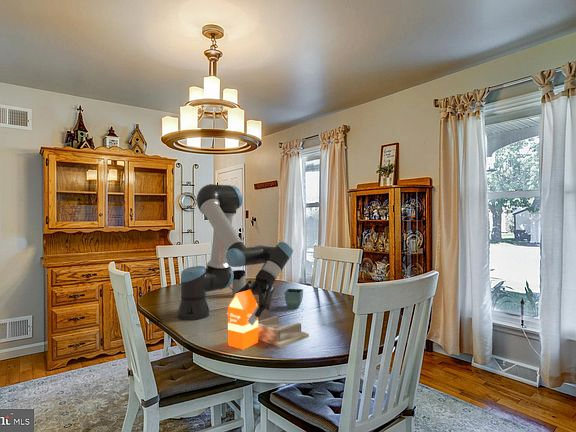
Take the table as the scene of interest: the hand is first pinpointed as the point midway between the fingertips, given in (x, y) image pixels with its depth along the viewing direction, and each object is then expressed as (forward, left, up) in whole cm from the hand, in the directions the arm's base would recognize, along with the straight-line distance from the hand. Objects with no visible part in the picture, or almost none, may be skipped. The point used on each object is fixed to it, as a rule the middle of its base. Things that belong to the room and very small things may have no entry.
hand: (238, 319), depth 132 cm
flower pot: (-22, +53, -10) cm, 59 cm away
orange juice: (0, +2, -10) cm, 10 cm away
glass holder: (-67, +48, -10) cm, 83 cm away
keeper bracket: (+3, +17, -10) cm, 20 cm away
